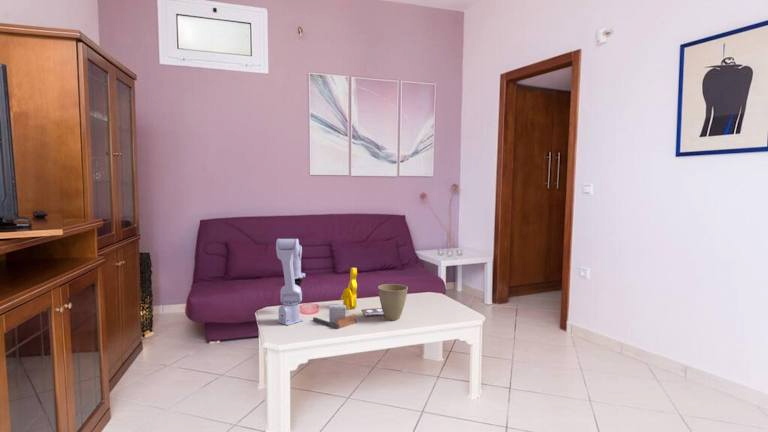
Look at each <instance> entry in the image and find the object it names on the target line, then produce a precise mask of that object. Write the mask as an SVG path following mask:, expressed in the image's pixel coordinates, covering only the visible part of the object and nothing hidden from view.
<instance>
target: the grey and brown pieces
mask: <svg viewBox="0 0 768 432" xmlns="http://www.w3.org/2000/svg"><path fill="white" fill-rule="evenodd" d="M356 316H357V315H356V314H351V315H346V317H343V318H340V319H337V320H336V324H334V323H331V322H329V321H328V320H324V319H322V318H318V317H313V318H312V321H313V322H316V323H319V324H321V325H325V326H328V327H330V328H334V329H337V330H339V329H341V328H345V327H348V326H351V325H352V326H353V325H354V324H357V323H358V322H357V321H358V320H357V317H356Z"/></svg>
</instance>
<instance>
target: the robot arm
mask: <svg viewBox="0 0 768 432" xmlns="http://www.w3.org/2000/svg"><path fill="white" fill-rule="evenodd" d="M302 246H303V245H300V239H298V238H277V239H276V244H275V250H276V251H275V252H276V256H277V259H278V260H280V261H281V265H282V271H283V277H284V285H283V286H282V287H281V288H280V302H281V304H282V305H281V306H280V305H279V308H278V320H277V323H280V324H283V325H286V326H289V325H294V324H296V323H300V322H303V319H301V318H300V303H301V302H302V300H303V291H302V288H301V284H302V282H303V278H306V273H305V272H302V254H303V247H302Z"/></svg>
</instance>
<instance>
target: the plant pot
mask: <svg viewBox="0 0 768 432" xmlns="http://www.w3.org/2000/svg"><path fill="white" fill-rule="evenodd" d="M377 287H378V289H377V290H378V297H379V301H380V305H381V306H380V307H381V309H382V312H383V316H384V318H385V319H386V320H388V321H398V320H399V319H400V318H401V315H402V313H403V310H404V307H405V303H406V300H407V295H408V290H409V288H408V286H406V285H404V284H397V283H385V284H381V285H378V286H377Z"/></svg>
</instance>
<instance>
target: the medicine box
mask: <svg viewBox="0 0 768 432" xmlns="http://www.w3.org/2000/svg"><path fill="white" fill-rule="evenodd" d="M328 313H329V314H328V315H329V321H328V322H331V323H334V324H336V320H337V319H340V318H343V317H347V309H346V305H343V304H330V305H329V311H328Z"/></svg>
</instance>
